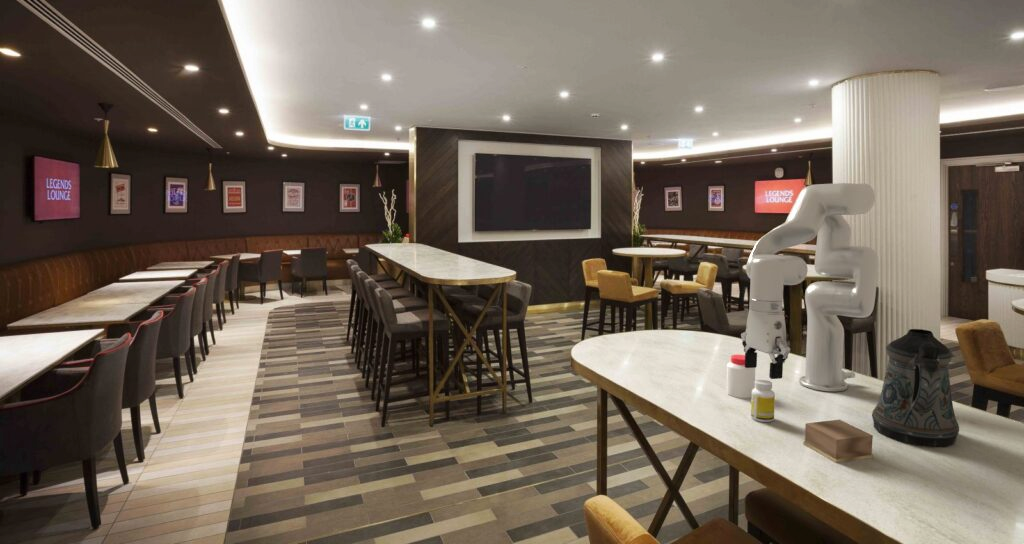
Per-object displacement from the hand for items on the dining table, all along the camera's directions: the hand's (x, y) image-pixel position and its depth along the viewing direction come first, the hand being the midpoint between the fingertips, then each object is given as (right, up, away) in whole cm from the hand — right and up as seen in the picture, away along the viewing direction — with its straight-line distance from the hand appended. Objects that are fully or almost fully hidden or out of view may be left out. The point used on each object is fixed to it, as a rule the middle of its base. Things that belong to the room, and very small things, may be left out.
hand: (762, 372), depth 136 cm
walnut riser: (+9, -14, -17) cm, 24 cm away
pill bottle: (+3, -10, +21) cm, 23 cm away
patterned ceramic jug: (+32, -13, -10) cm, 36 cm away
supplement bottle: (+1, -12, +2) cm, 13 cm away
